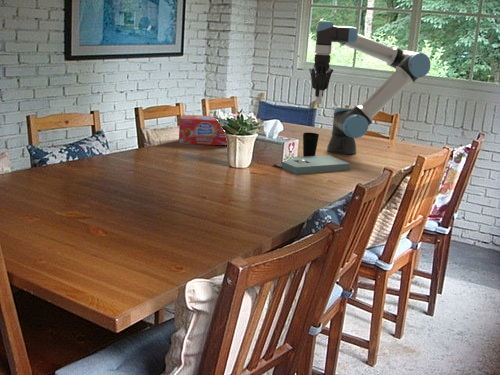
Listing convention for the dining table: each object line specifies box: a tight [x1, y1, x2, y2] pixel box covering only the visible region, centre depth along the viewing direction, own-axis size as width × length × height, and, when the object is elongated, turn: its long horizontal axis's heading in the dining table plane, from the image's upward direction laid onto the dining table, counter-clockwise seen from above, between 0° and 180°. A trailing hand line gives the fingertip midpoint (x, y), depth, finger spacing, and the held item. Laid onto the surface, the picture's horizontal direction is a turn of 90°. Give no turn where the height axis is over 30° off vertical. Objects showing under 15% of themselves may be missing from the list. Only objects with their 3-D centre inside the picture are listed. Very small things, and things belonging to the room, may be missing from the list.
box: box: [178, 114, 227, 147], centre depth 334 cm, size 27×13×14 cm, turn 87°
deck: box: [281, 154, 351, 175], centre depth 295 cm, size 30×18×3 cm, turn 120°
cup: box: [302, 132, 320, 157], centre depth 313 cm, size 8×8×12 cm
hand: (318, 103), depth 313 cm, fingers closed
